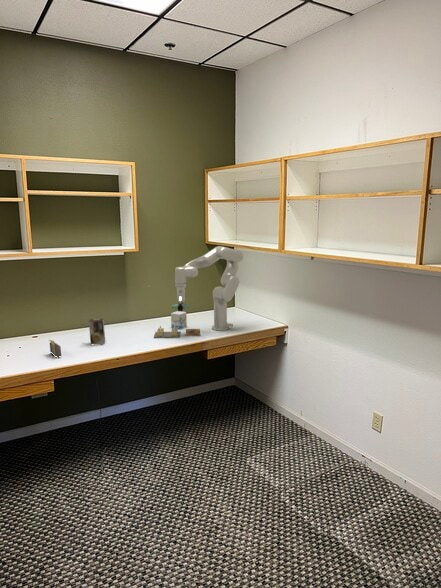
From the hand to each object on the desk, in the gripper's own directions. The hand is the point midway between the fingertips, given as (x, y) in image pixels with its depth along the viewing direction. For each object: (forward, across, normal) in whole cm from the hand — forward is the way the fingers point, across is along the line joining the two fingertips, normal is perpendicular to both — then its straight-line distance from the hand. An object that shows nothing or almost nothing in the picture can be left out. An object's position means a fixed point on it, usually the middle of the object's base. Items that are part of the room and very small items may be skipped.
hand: (180, 309), depth 295 cm
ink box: (+19, +21, +2) cm, 28 cm away
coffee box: (+21, -13, +54) cm, 59 cm away
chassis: (+19, +1, +9) cm, 21 cm away
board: (-1, 0, 0) cm, 1 cm away
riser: (+18, 0, -9) cm, 20 cm away
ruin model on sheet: (+22, -36, +75) cm, 86 cm away
